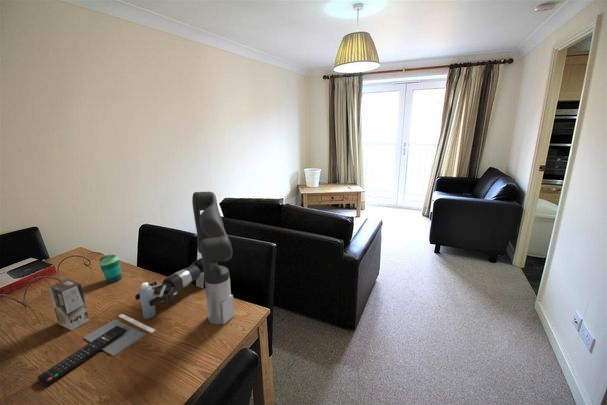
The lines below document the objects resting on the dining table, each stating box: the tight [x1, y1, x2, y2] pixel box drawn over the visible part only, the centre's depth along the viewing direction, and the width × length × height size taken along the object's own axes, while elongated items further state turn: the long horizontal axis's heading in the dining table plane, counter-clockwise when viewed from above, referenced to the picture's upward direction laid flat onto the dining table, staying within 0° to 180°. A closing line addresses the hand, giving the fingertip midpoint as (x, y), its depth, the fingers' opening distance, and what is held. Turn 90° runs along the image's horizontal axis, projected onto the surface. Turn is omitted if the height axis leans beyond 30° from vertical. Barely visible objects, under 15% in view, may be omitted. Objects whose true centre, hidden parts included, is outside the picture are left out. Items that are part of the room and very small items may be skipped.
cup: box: [98, 254, 123, 284], centre depth 135 cm, size 8×8×12 cm
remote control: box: [37, 326, 126, 387], centre depth 91 cm, size 5×24×1 cm, turn 156°
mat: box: [83, 318, 146, 357], centre depth 100 cm, size 18×11×1 cm, turn 63°
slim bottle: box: [138, 281, 157, 320], centre depth 110 cm, size 4×4×14 cm
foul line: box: [118, 313, 156, 334], centre depth 107 cm, size 20×2×1 cm, turn 63°
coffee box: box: [48, 278, 90, 331], centre depth 105 cm, size 9×6×16 cm
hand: (142, 300), depth 108 cm, fingers open, 8 cm apart
